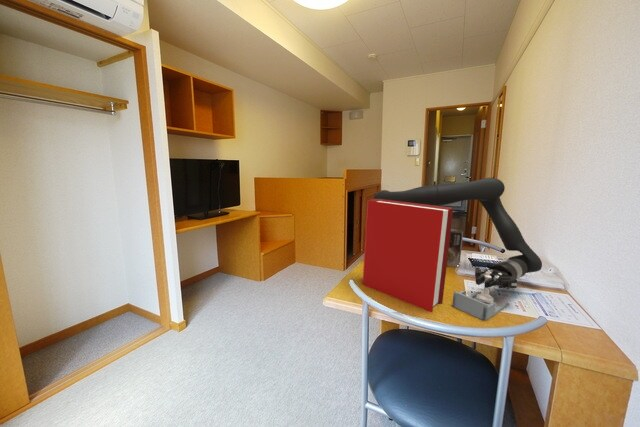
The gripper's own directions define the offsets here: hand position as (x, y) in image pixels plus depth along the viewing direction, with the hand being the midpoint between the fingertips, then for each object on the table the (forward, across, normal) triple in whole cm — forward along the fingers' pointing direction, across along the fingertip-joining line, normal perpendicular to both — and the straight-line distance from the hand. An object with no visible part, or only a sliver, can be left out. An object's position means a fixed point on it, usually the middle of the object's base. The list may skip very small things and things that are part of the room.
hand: (481, 283), depth 86 cm
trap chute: (-1, 0, +8) cm, 8 cm away
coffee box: (-30, -28, +9) cm, 42 cm away
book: (+15, -20, +8) cm, 26 cm away
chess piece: (-4, 0, +7) cm, 8 cm away
